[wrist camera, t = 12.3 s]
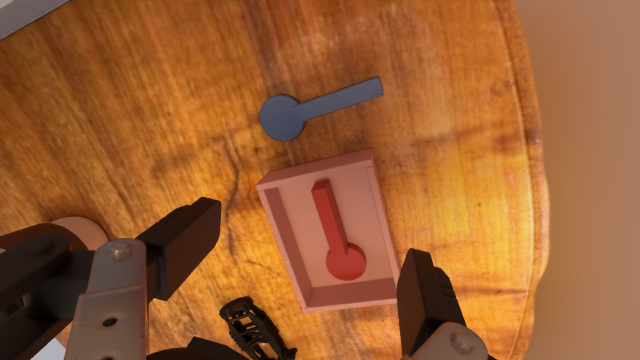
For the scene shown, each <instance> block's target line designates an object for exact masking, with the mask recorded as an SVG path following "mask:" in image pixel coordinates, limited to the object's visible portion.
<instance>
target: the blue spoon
mask: <svg viewBox="0 0 640 360" xmlns="http://www.w3.org/2000/svg"><path fill="white" fill-rule="evenodd" d="M381 95H383V91H382V87H381V83H380V79H379V77H378V76H376V77H373V78H370V79H368V80H365V81H362V82H359V83H356V84H353V85H350V86H348V87H345V88H342V89H339V90H336V91H333V92H331V93H328V94H325V95H322V96H319V97H316V98H313V99H311V100H308V101H305V102H302V103H300V102H299V101H298V100H297V99H296V98H294V97H293V96H290V95H286V94H280V95H276V96H273V97H271V98H269V99H268V100H266V101H265V103H264V104H263V105H262V107H261V110H260V123H261V126H262V128H263V130H264V131H265V133H266V134H267V135H268V136H270V137H271V138H273V139H275V140H278V141H289V140H292V139H294V138H295V137H297V136H298V135H299V134H300V133H301V132H302V130H303V129H304V126H305V123H306V120H309V119H312V118H315V117H318V116H321V115H324V114H327V113H330V112H333V111H336V110H339V109H342V108H345V107H348V106H351V105H354V104H357V103H360V102H363V101H366V100H369V99H372V98H375V97H378V96H381Z"/></svg>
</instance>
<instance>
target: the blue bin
mask: <svg viewBox="0 0 640 360" xmlns="http://www.w3.org/2000/svg"><path fill="white" fill-rule="evenodd" d="M68 1H70V0H0V40H1V39H3V38H5V37H6V36H8V35H10V34H12V33H13V32H15V31H17V30H19V29H20V28H22V27H24V26H26V25H27V24H29V23H31V22H33V21H34V20H36V19H38V18H40V17H41V16H43V15H45V14H47V13H48V12H50V11H52V10H54V9H56V8H57V7H59V6H61V5H63V4H64V3H66V2H68Z"/></svg>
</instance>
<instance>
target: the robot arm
mask: <svg viewBox="0 0 640 360" xmlns="http://www.w3.org/2000/svg"><path fill="white" fill-rule="evenodd" d="M220 222H221V202H220V201H218V200H214V199H210V198H206V197H201V198H200V199H198V200H197V201H196V202H194V203H193V204H192V205H185V206H182V207H180V208H177V209H175V210H173V211H172V212H170V213H169V214H168V215H166V217H164V218H162V219H161V220H159V222H157V223H155V224H154V225H153V226H151V227H150V228H148V229H147V230H146V231H144V232H143V233H141V234H140V235H139V236H137V237H136V238H135V239H133V238H121V239H116V240H112V241H109V242H107V243H105V244H103V245H101V246H100V247H99V248H98V249H97V250H72V247H71V241H70V239H69V238H68V237H66V236H63V235H56V234H50V235H42V236H37V237H33V238H30V239H27V240H25V241H22V242H20V243H19V244H17V245H15V246H13V247H11V248H9V249H7V250H6V251H4V252H2V253H0V312H1V311H2V310H4V309H5V308H6V307H8V306H9V305H11V304H12V303H13V302H15V301H16V300H18V299H19V298H20V297H23V301H24V306H22V307H21V308H20V309H18V310H17V311H16V312H14V313H13V314H12V315H10V316H9V317H7V318H6V319H5V320H3V321H2V322H1V323H0V360H30V359H31V358H33V357H34V355H36V354H37V353H38V352H39V351H40V350H41V349H42V348H43V347H45V346H46V345H47V344H48V343H49V342H50V341H51V340H52V339H53V338H54V337H55V336H56V335H58V334H59V333H60V332H61V331H62V330H63V329H64V328H65V327H66V326H67V325H68V324H69V323H71V322H72V321H73V323H72V327H71V331H70V335H69V339H68V344H67V348H66V352H65V357H64V360H249V359H248V358H246V357H244V356H243V355H241V354H240V353H238V352H236V351H235V350H233V349H231V348H230V347H228V346H226V345H223V344H219V343H216V342H212V341H209V340H205V339H202V338H199V337H195V336H194V337H193V338H192V340H191V341H190V343H189V344H188V346H187V347H181V348H171V349H166V350H162V351H159V352H155V353H152V354H150V344H149V303H150V302H151V301H152V300H153V299H154V298H156V299H160V300H163V301H167V300H168V299H169V298H170V297H171V296H172V294H173V293H174V292H175V291H176V290H177V289H178V288H179V286H180V285H181V284H182V283H183V282H184V281H185V280H186V278H187V277H188V276H189V275H190V274H191V273H192V272H193V270H194V269H195V268H196V267H197V266H198V265H199V264H200V262H201V261H202V260H203V259H204V258H205V257H206V256H207V254H208V253H209V252H210V251H211V250H212V249H213V248H214V246H215V245H216V243H217V241H218V238H219V235H220ZM396 296H397V306H398V316H399V326H400V336H401V346H402V356H403V357H402V358H401V359H400V360H497V359H495V358H493V357H492V356H490V355H489V354H488V350H487V348H486V346H485V344H484V342H483V341H482V340H481V338H480V337H479V336H478V335H477V334H476V333H474V332H473V331H472V330H470V329H469V328H467V326H466V323H465V320H464V318H463V315H462V312H461V309H460V306H459V304H458V301H457V299H456V295H455V293H454V290H453V287H452V284H451V281H450V279H449V277H448V276H447V275H446V274H445V273H444V271H443V270H442V269H441V268H438V267H434V265H433V262H432V258H431V255H430V253H429V252H425V251H421V250H417V249H413V248H410V249H409V250H408V252H407V255H406V258H405V261H404V264H403V267H402V269H401V272H400V275H399V278H398V282H397V288H396Z"/></svg>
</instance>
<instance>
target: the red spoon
mask: <svg viewBox="0 0 640 360" xmlns="http://www.w3.org/2000/svg"><path fill="white" fill-rule="evenodd" d="M311 193H312V196H313V199H314V202H315V205H316V208H317V212H318V215H319V218H320V221H321V224H322V227H323V230H324V233H325V236H326V239H327V242H328V245H329V248H330V249H329V251H328V254H327V258H326V267H327V269H328V271H329V272H330V274H331V275H333V276H334V277H335V278H337V279H340V280H343V281H352V280H355V279H358V278H359V277H360V276H362V274H363V273H364V272H365V269H366V256H365V253H364V252H363V250H362V249H361V248H360V247H359V246H357V245H355V244H353V243H349V242H348V240H347V237H346V233H345V230H344V227H343V224H342V220H341V217H340V214H339V211H338V207H337V204H336V201H335V198H334V194H333V191H332V188H331V184H330V181H329V179H326V180H321V181H317V182H315V183H314V185H313V187H312V189H311Z"/></svg>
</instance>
